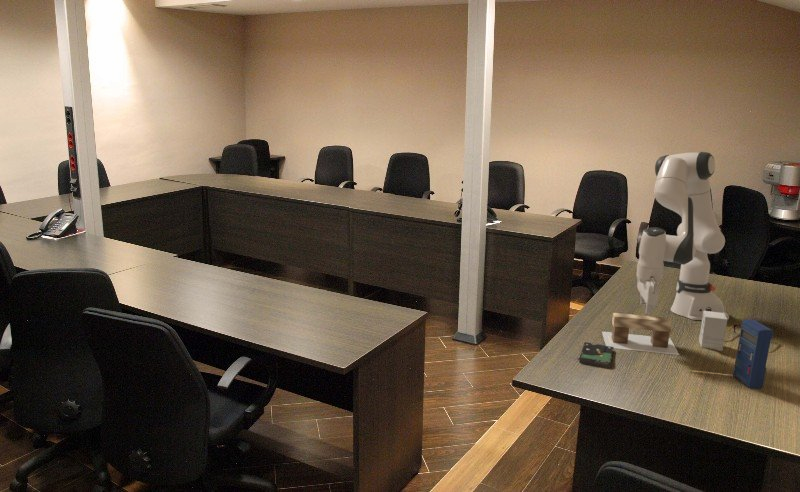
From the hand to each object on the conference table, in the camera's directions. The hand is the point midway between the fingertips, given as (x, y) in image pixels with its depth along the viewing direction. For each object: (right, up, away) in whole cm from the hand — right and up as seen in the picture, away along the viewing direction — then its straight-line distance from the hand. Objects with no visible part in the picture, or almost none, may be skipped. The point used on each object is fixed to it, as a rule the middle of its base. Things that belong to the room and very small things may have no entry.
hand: (645, 309), depth 231 cm
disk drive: (-21, -17, -9) cm, 28 cm away
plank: (-1, -7, +2) cm, 7 cm away
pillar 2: (+6, -13, +2) cm, 15 cm away
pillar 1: (-8, -12, +5) cm, 15 cm away
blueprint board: (-1, -13, +4) cm, 14 cm away
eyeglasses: (+42, -14, +10) cm, 45 cm away
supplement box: (+25, -14, +4) cm, 29 cm away
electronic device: (+24, -21, -25) cm, 40 cm away
